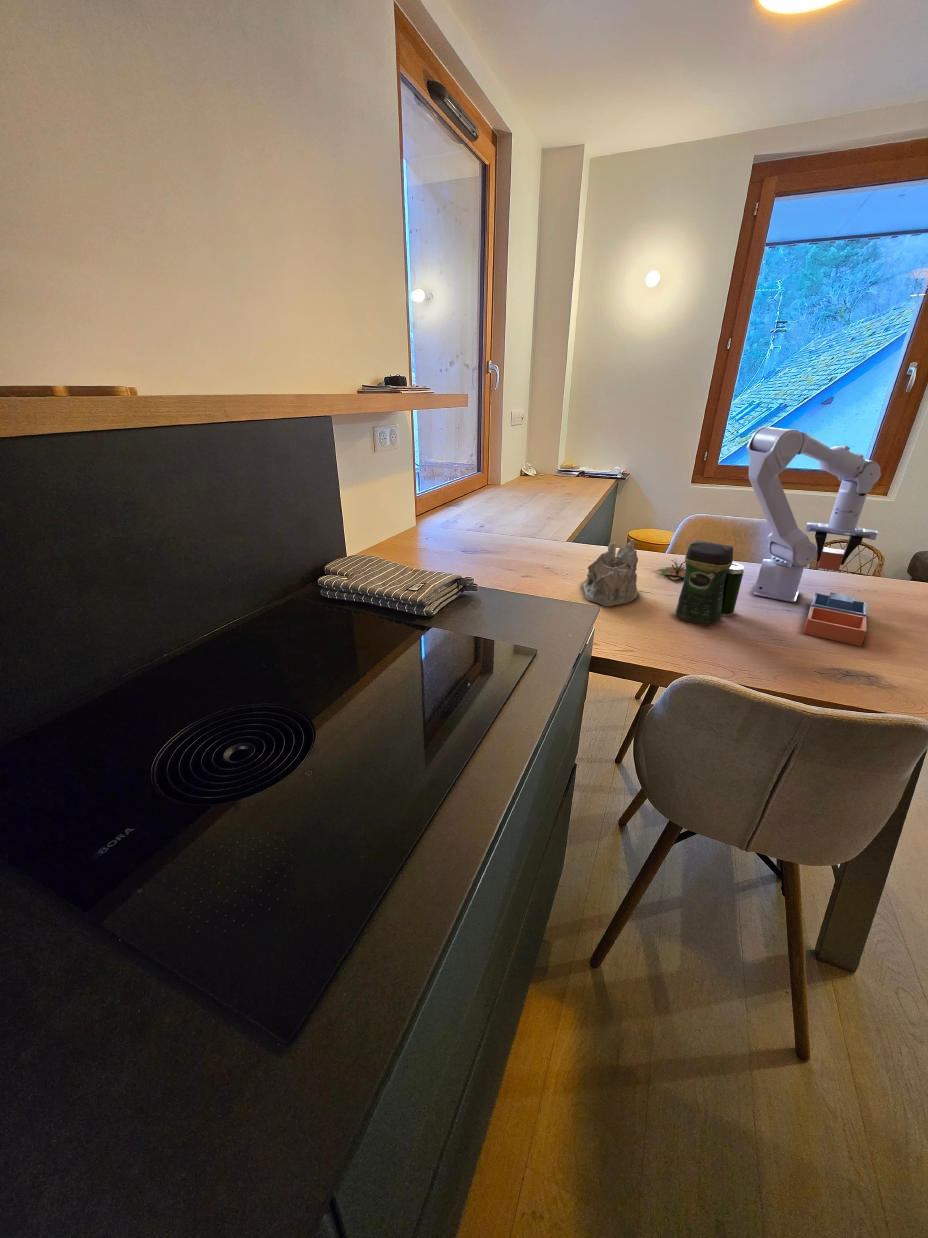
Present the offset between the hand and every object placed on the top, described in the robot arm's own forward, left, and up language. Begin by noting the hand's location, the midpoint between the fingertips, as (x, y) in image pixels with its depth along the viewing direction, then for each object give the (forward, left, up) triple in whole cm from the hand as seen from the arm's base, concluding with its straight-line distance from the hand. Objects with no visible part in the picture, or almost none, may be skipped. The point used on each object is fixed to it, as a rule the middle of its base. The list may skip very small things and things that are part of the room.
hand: (830, 562), depth 127 cm
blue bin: (+4, -16, -8) cm, 18 cm away
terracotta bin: (+4, -26, -8) cm, 28 cm away
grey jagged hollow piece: (-47, -32, -9) cm, 57 cm away
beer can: (-19, -28, -9) cm, 35 cm away
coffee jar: (-23, -35, -9) cm, 43 cm away
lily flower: (-35, -8, -9) cm, 37 cm away
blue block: (+4, -16, -8) cm, 18 cm away
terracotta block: (0, 0, -1) cm, 1 cm away
